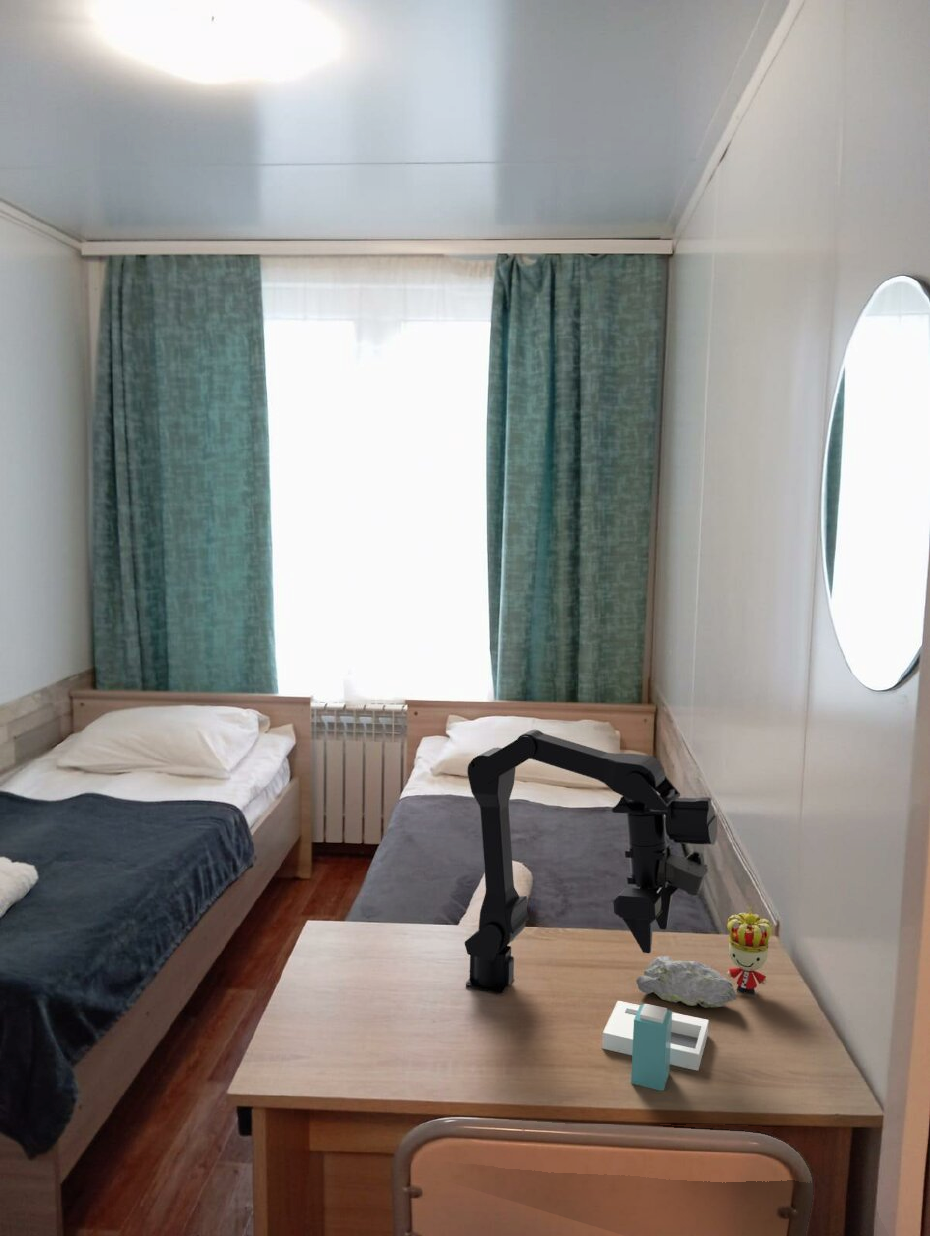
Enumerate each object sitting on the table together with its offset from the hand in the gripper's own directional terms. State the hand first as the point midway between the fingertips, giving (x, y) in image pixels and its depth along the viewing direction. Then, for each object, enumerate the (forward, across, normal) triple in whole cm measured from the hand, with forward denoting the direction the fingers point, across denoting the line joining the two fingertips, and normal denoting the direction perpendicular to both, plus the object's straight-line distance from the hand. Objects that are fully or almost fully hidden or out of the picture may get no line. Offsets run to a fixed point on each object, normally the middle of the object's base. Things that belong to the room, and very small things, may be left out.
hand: (655, 940), depth 146 cm
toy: (+15, +18, -9) cm, 26 cm away
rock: (+14, +11, -1) cm, 18 cm away
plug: (+14, -13, -2) cm, 20 cm away
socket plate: (+14, -4, 0) cm, 15 cm away
